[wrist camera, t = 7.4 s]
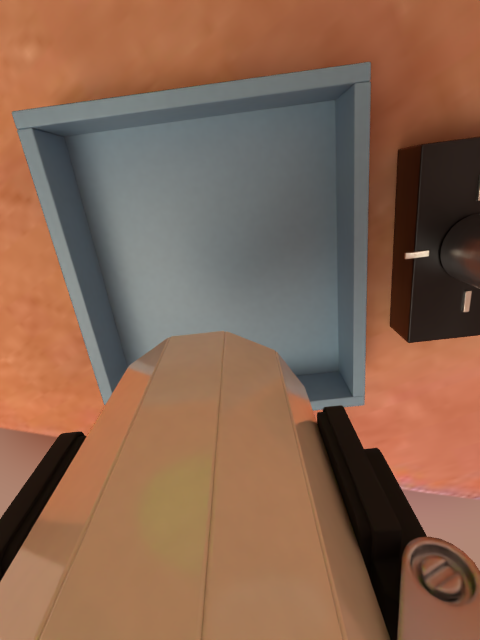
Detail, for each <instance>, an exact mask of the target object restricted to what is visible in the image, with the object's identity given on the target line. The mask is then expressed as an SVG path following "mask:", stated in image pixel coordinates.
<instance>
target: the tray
mask: <svg viewBox="0 0 480 640" xmlns="http://www.w3.org/2000/svg"><path fill="white" fill-rule="evenodd" d="M370 79H371V62H364V63H357V64H350V65H343V66H336V67H328V68H321V69H314V70H307V71H300V72H292V73H285V74H278V75H271V76H264V77H256V78H249V79H242V80H235V81H228V82H220V83H213V84H206V85H199V86H192V87H184V88H177V89H170V90H163V91H156V92H148V93H141V94H134V95H127V96H120V97H112V98H105V99H98V100H91V101H84V102H76V103H69V104H62V105H55V106H48V107H40V108H33V109H26V110H19V111H13V112H12V115H13V119H14V122H15V125H16V128H17V129H19V130H17V132H18V135H19V138H20V141H21V144H22V147H23V151H24V154H25V157H26V160H27V163H28V166H29V169H30V173H31V176H32V179H33V182H34V185H35V188H36V191H37V195H38V198H39V201H40V204H41V207H42V210H43V213H44V217H45V220H46V223H47V226H48V229H49V232H50V235H51V238H52V242H53V245H54V248H55V251H56V254H57V257H58V260H59V264H60V267H61V270H62V273H63V276H64V279H65V282H66V286H67V289H68V292H69V295H70V298H71V301H72V304H73V308H74V311H75V314H76V317H77V320H78V323H79V326H80V330H81V333H82V336H83V339H84V342H85V345H86V348H87V352H88V355H89V358H90V361H91V364H92V367H93V370H94V374H95V377H96V380H97V383H98V386H99V389H100V392H101V396H102V399H103V402H104V405H106V403H107V401H108V400H109V398H110V396H111V395H112V393H113V391H114V390H115V388H116V386H117V385H118V383H119V381H120V380H121V378H122V376H123V375H124V373H125V371H126V370H127V368H128V367H129V365H130V364H132V363H133V362H135V361H136V360H137V359H139V358H140V357H142V356H143V355H144V354H146V353H147V352H149V351H150V350H151V349H153V348H154V347H156V346H157V345H158V344H160V343H161V342H163V341H164V340H165V339H167V338H168V337H172V336H180V335H189V334H199V333H208V332H217V331H225V332H226V331H227V332H230V333H233V334H235V335H238V336H240V337H243V338H245V339H248V340H250V341H253V342H255V343H258V344H261V345H263V346H266V347H268V348H271V349H273V350H275V352H278V354H279V355H280V356H281V357H282V359H283V360H284V361H285V362H286V364H287V365H288V366H289V368H290V369H291V370H292V371H293V373H294V374H295V375H296V377H297V378H298V379H299V380H300V382H301V383H302V384H303V385H304V387H305V389H306V392H307V395H308V398H309V401H310V404H311V407H312V410H323V408H324V407H329V406H339V405H342V406H343V407H351V406H361V405H364V400H365V396H364V395H365V356H366V304H367V253H368V201H369V150H370V99H371V82H370Z"/></svg>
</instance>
